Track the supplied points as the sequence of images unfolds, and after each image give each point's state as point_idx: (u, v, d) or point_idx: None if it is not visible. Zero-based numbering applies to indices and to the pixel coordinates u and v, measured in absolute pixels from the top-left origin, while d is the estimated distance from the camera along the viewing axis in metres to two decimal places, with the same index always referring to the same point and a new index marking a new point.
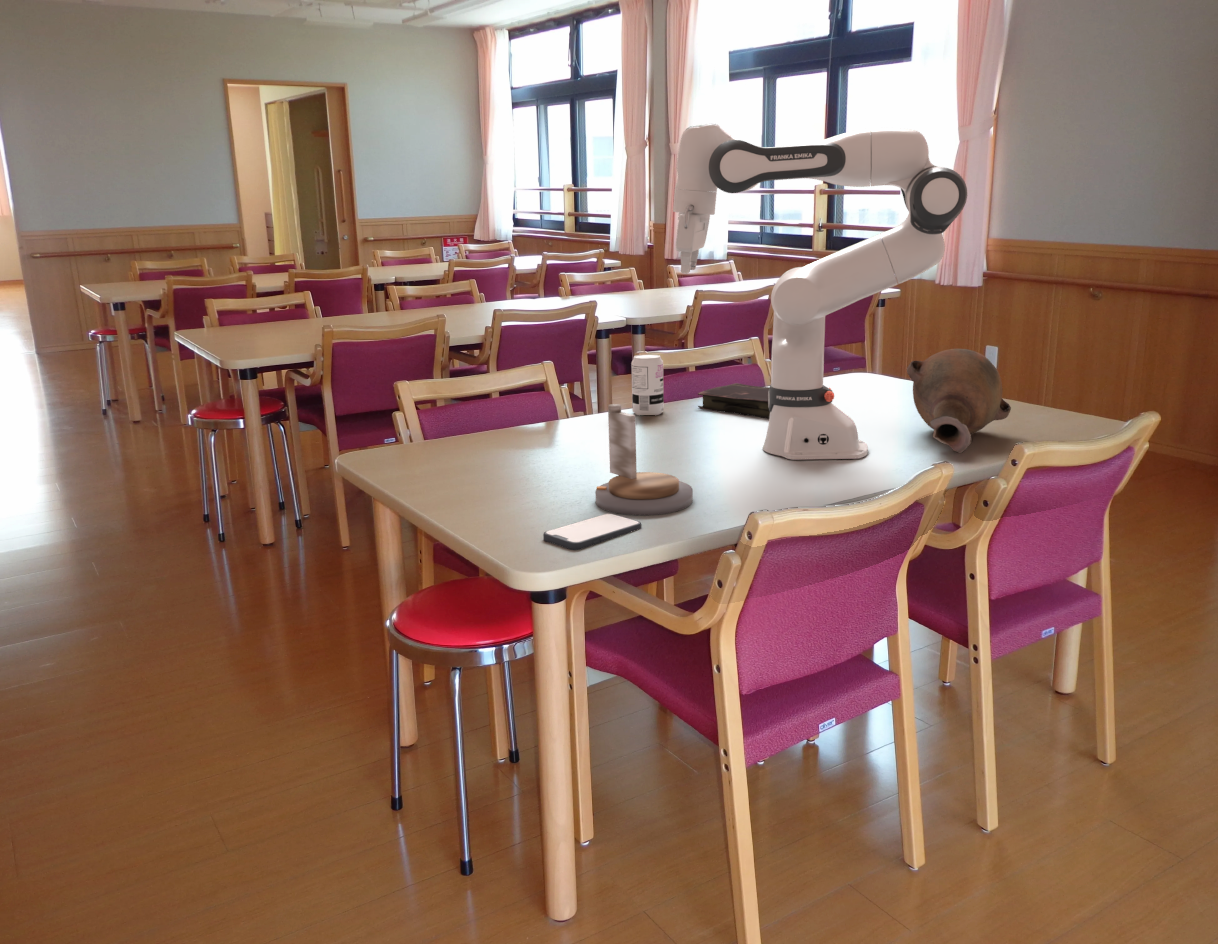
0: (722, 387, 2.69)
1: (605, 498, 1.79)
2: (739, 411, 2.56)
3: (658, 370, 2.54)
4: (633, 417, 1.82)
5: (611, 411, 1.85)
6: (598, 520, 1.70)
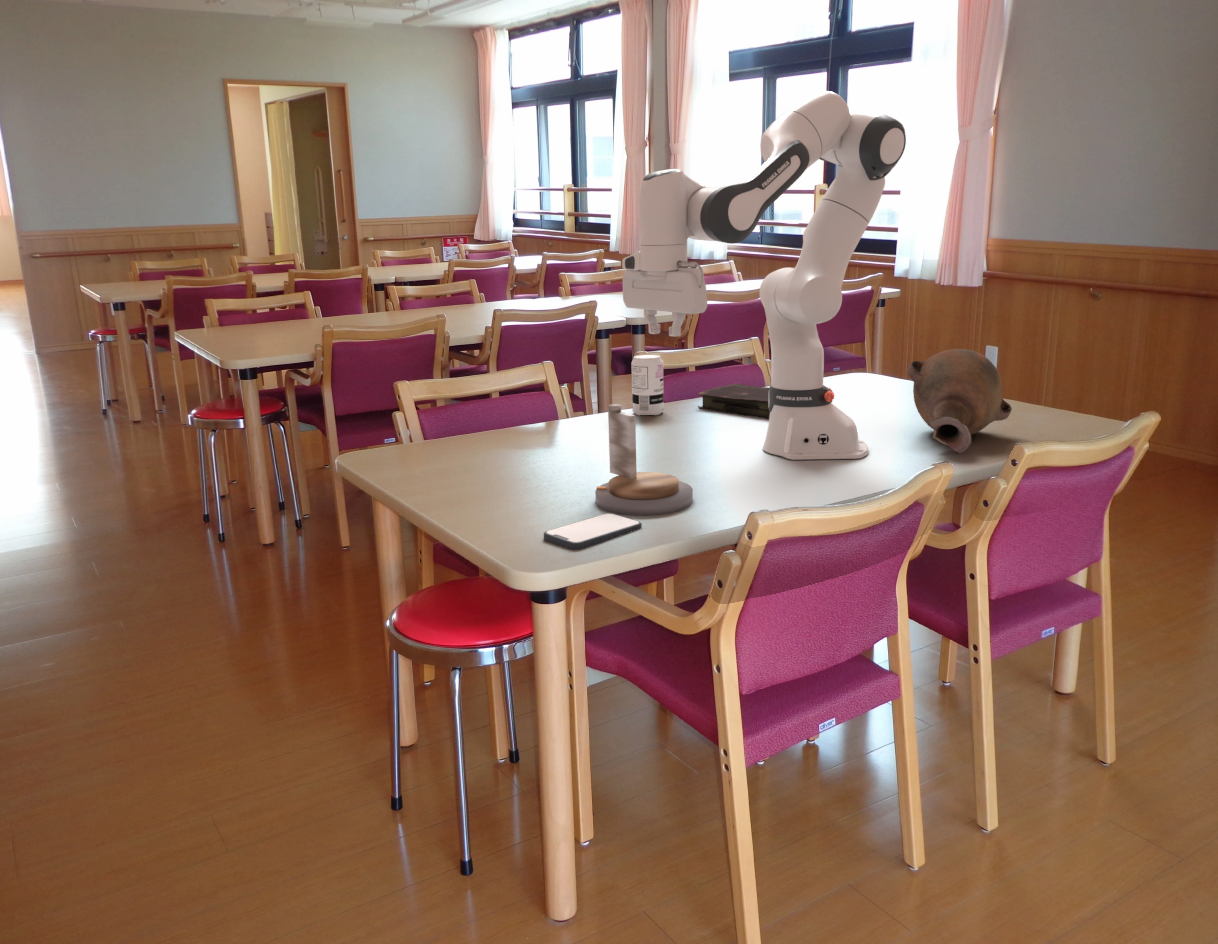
0: (722, 387, 2.69)
1: (605, 498, 1.79)
2: (739, 411, 2.56)
3: (658, 370, 2.54)
4: (633, 417, 1.82)
5: (611, 411, 1.85)
6: (598, 520, 1.70)
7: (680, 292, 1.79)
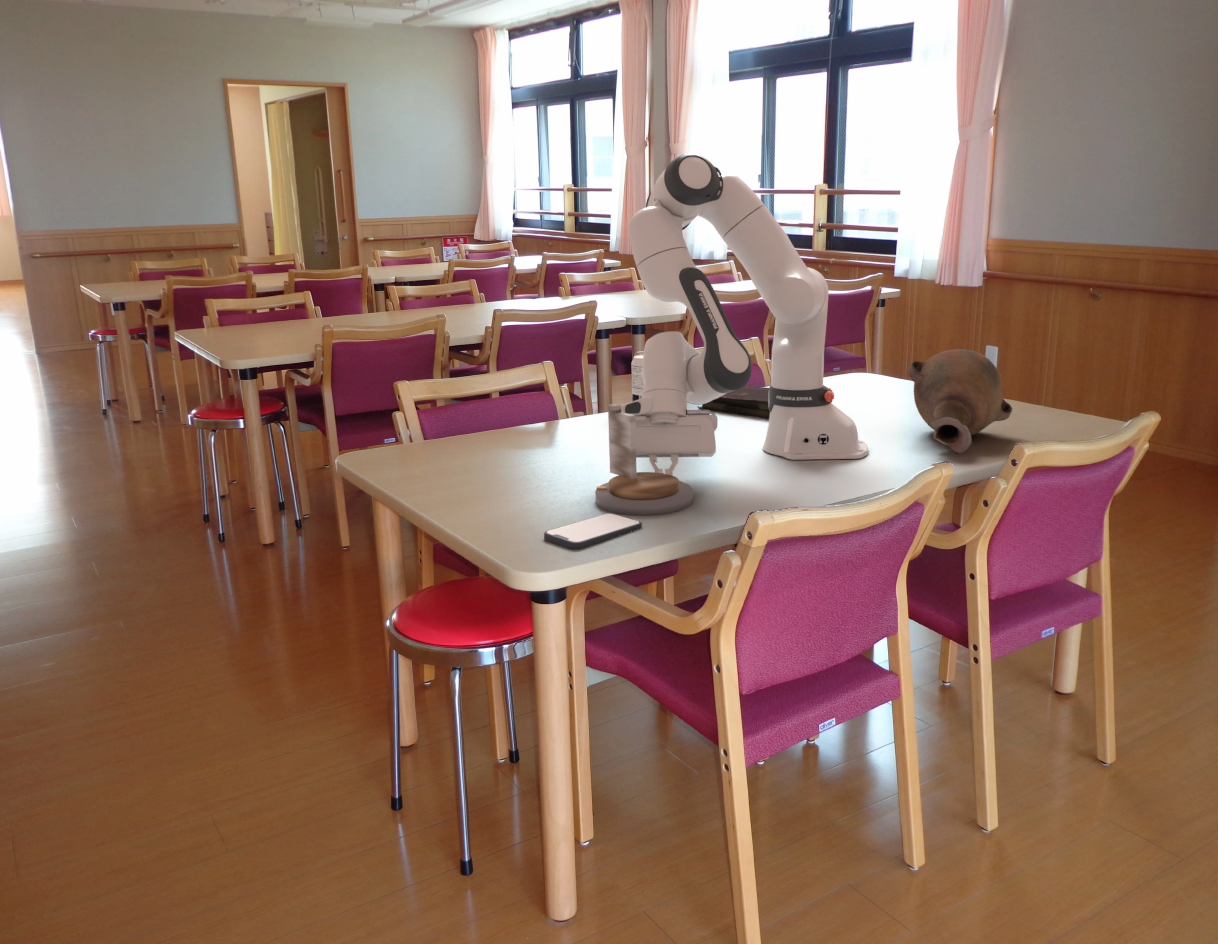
0: None
1: (605, 498, 1.79)
2: (739, 411, 2.55)
3: None
4: (633, 417, 1.82)
5: (611, 411, 1.85)
6: (599, 520, 1.70)
7: (697, 433, 1.91)
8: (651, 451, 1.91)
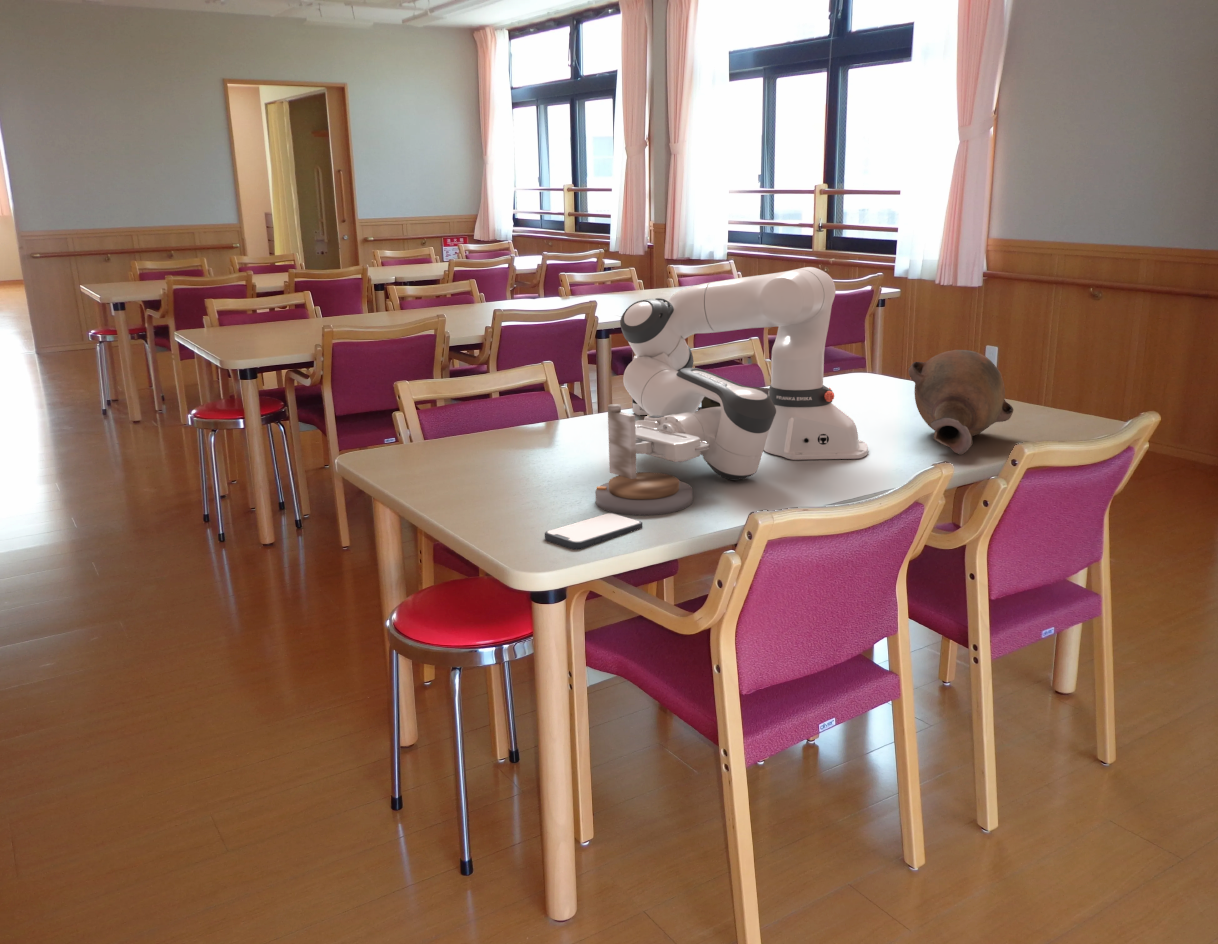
0: None
1: (605, 498, 1.79)
2: None
3: None
4: (633, 417, 1.82)
5: (611, 411, 1.85)
6: (599, 520, 1.70)
7: (680, 438, 1.86)
8: None
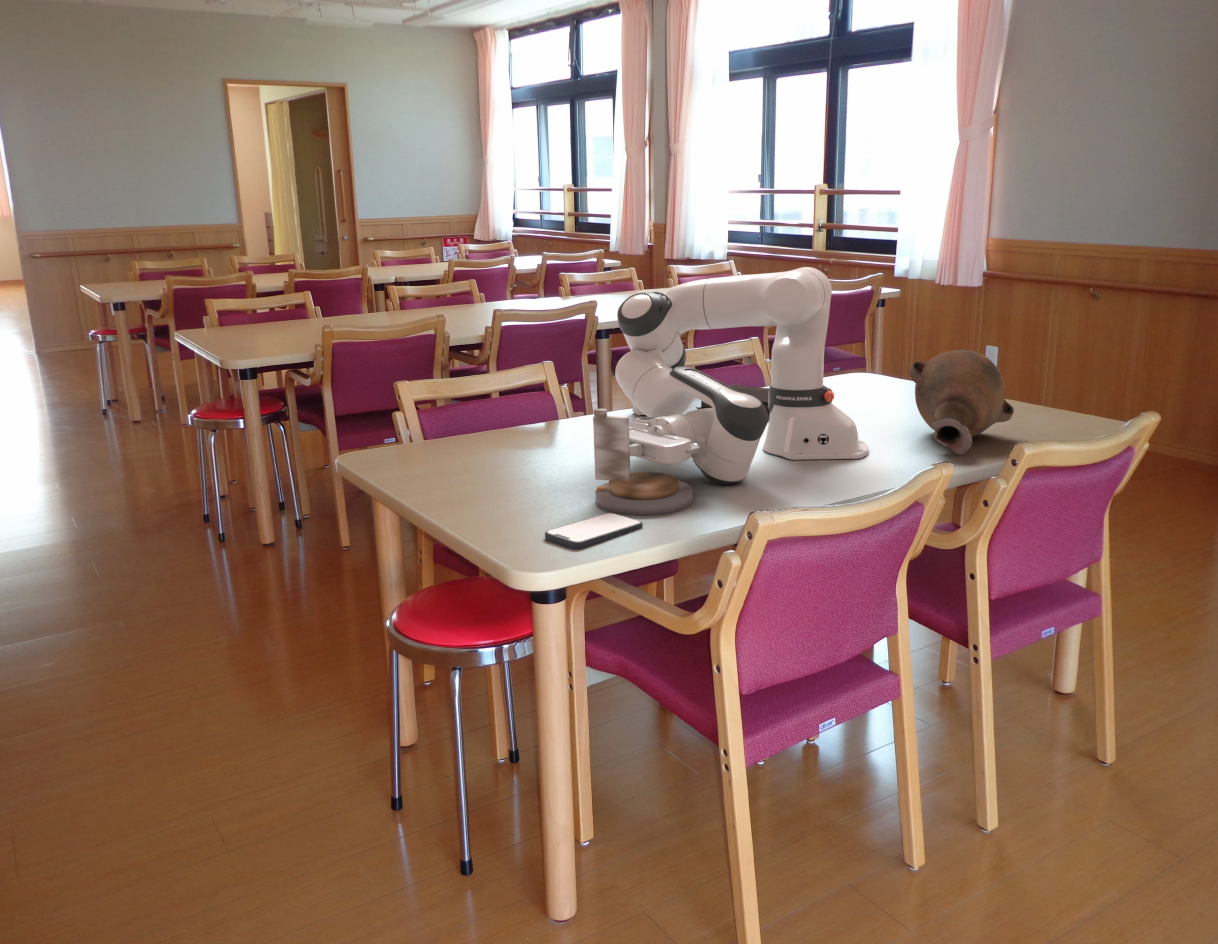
0: None
1: (605, 498, 1.79)
2: None
3: None
4: (628, 419, 1.81)
5: (600, 416, 1.81)
6: (599, 520, 1.70)
7: (670, 440, 1.84)
8: None
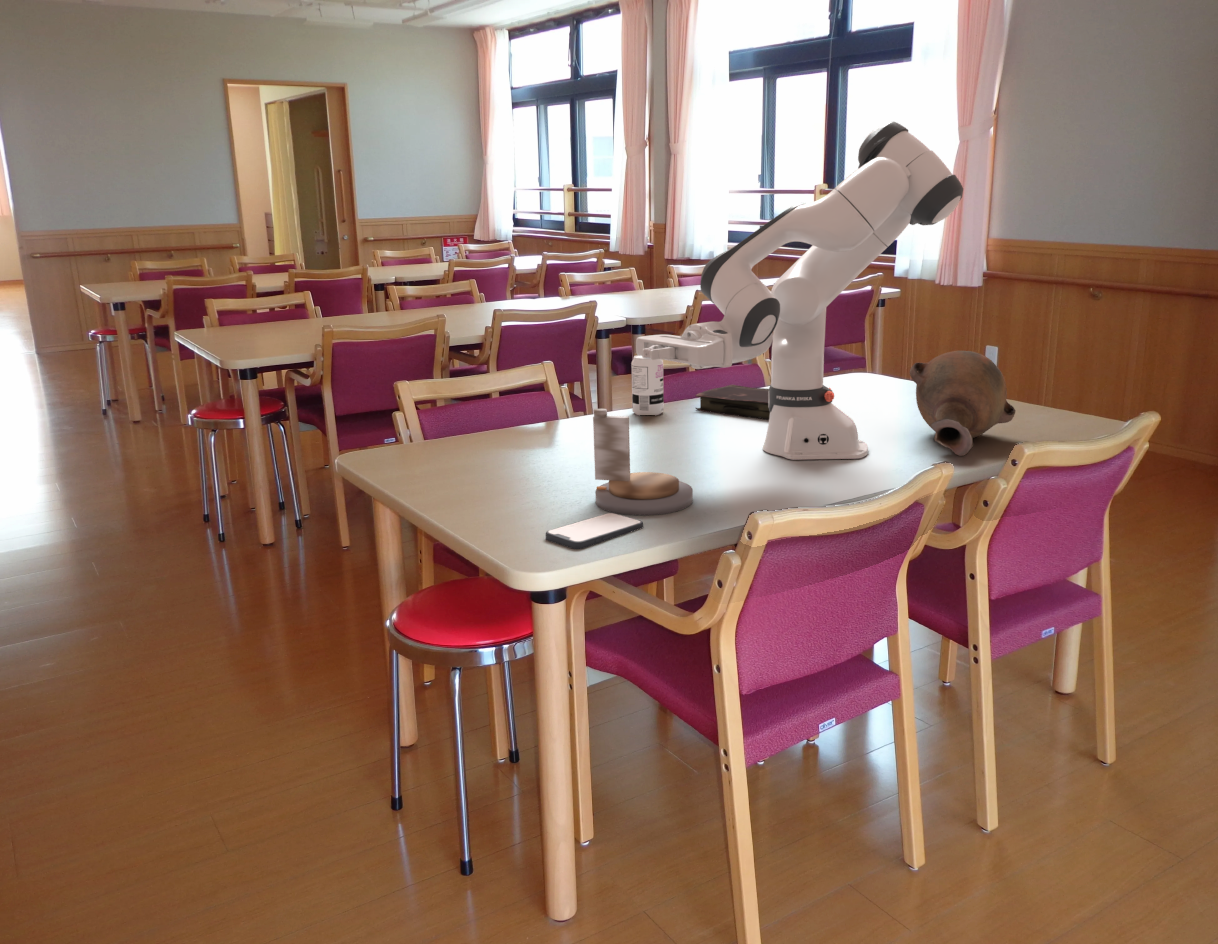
0: (719, 389, 2.67)
1: (605, 498, 1.79)
2: (738, 413, 2.54)
3: (658, 370, 2.54)
4: (628, 419, 1.81)
5: (600, 416, 1.81)
6: (600, 519, 1.70)
7: None
8: (675, 361, 1.88)
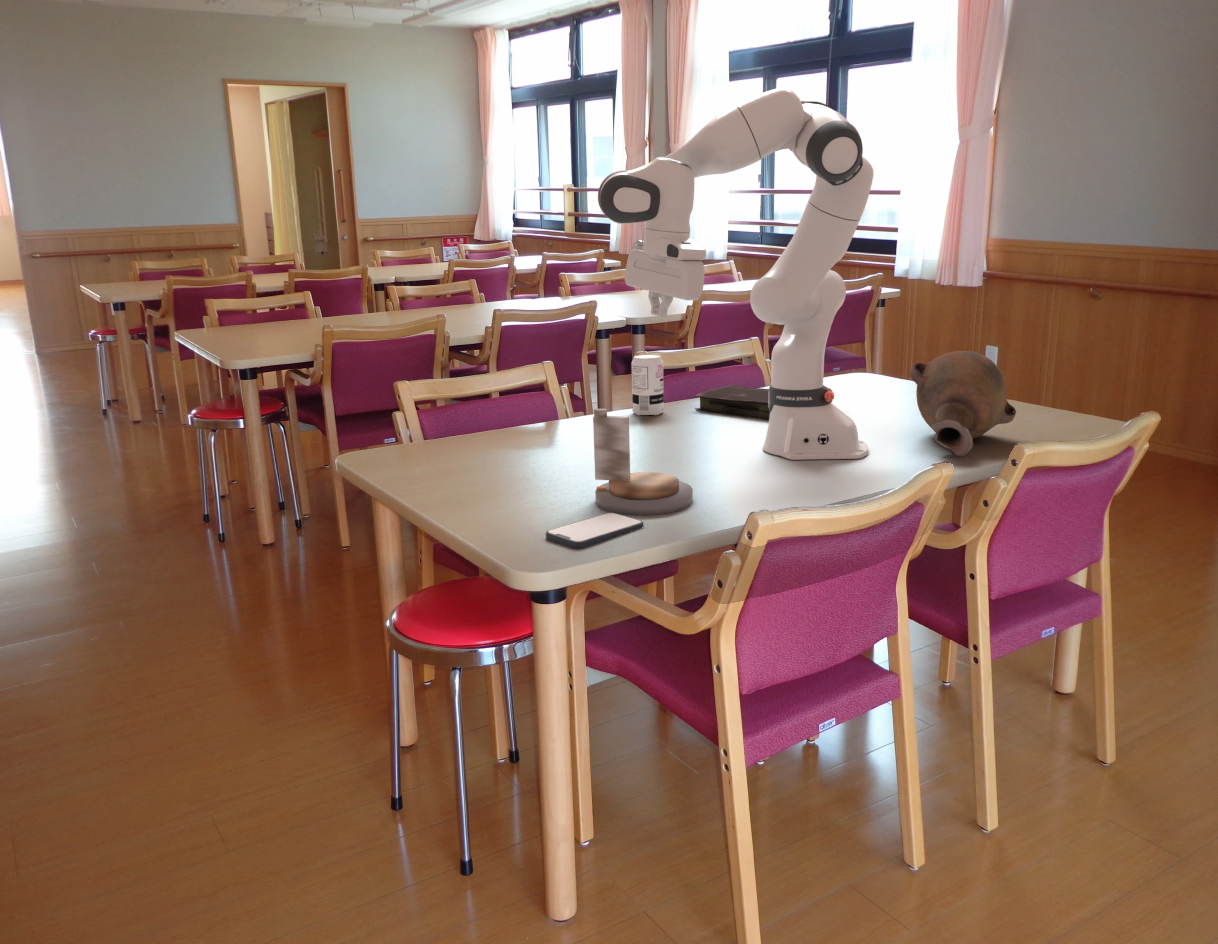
0: (718, 389, 2.67)
1: (605, 498, 1.79)
2: (738, 413, 2.54)
3: (658, 370, 2.54)
4: (628, 419, 1.81)
5: (600, 416, 1.81)
6: (600, 519, 1.70)
7: None
8: None
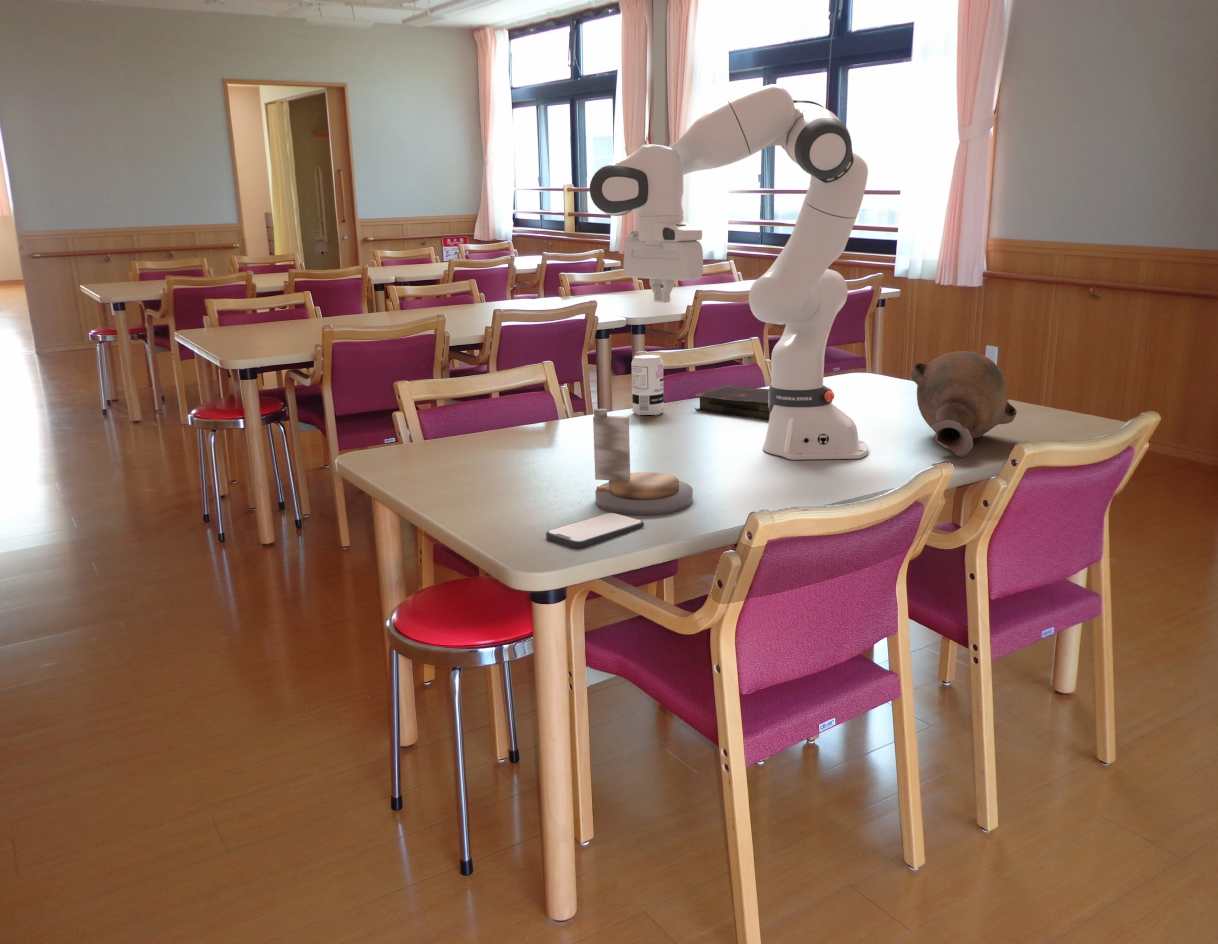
0: (718, 389, 2.67)
1: (605, 498, 1.79)
2: (738, 413, 2.54)
3: (658, 370, 2.54)
4: (628, 419, 1.81)
5: (600, 416, 1.81)
6: (600, 519, 1.70)
7: None
8: None
